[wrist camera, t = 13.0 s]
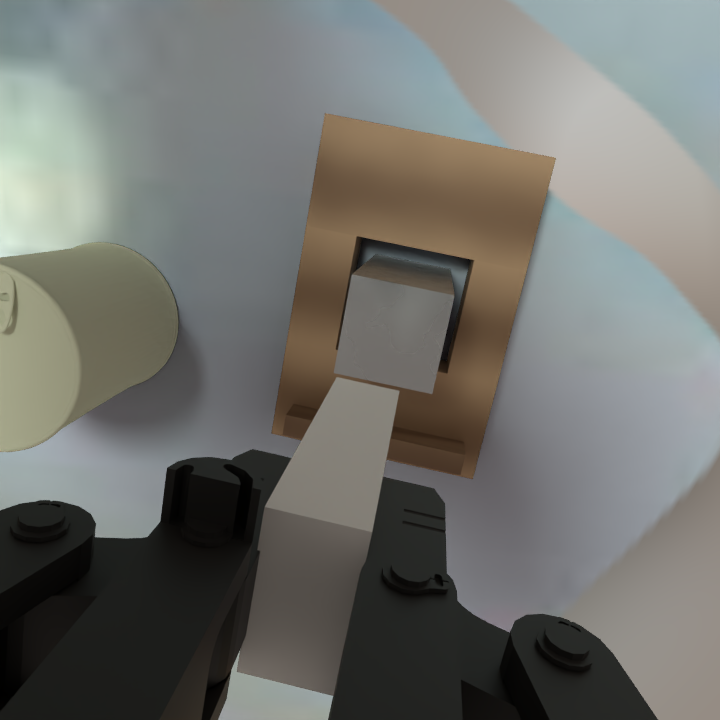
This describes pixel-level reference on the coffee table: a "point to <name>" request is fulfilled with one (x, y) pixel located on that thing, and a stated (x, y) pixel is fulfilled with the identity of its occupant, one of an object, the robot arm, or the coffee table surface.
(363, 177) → the jig
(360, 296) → the grey square block
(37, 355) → the can
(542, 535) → the coffee table surface
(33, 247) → the coffee table surface
